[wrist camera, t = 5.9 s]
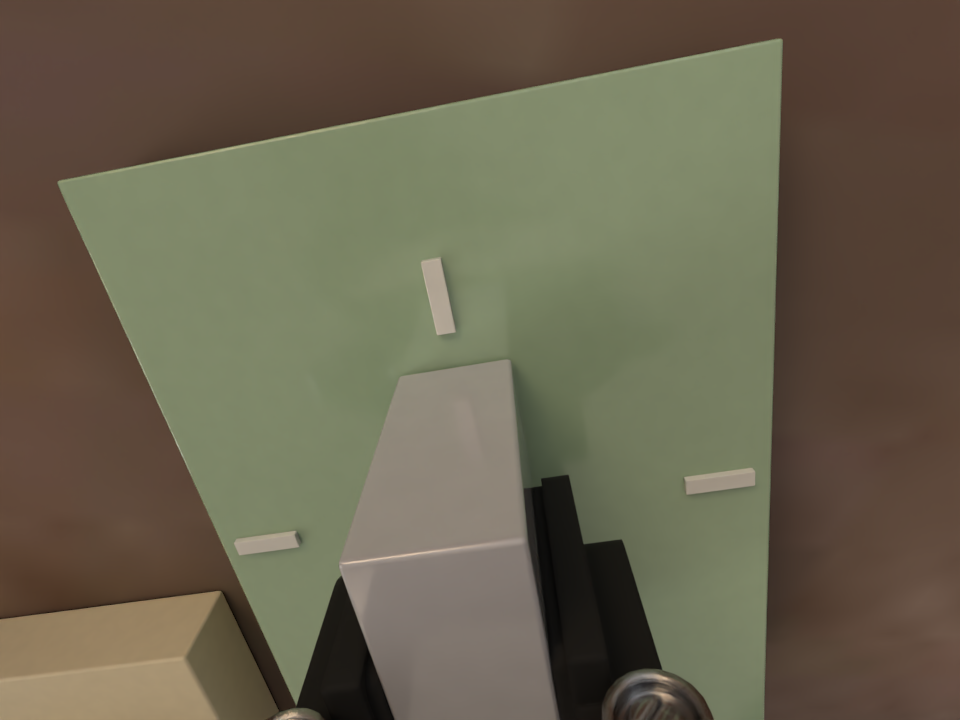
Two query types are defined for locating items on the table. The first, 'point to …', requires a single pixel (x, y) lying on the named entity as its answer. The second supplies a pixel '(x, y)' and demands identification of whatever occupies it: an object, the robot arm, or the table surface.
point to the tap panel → (480, 327)
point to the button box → (132, 664)
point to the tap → (452, 553)
